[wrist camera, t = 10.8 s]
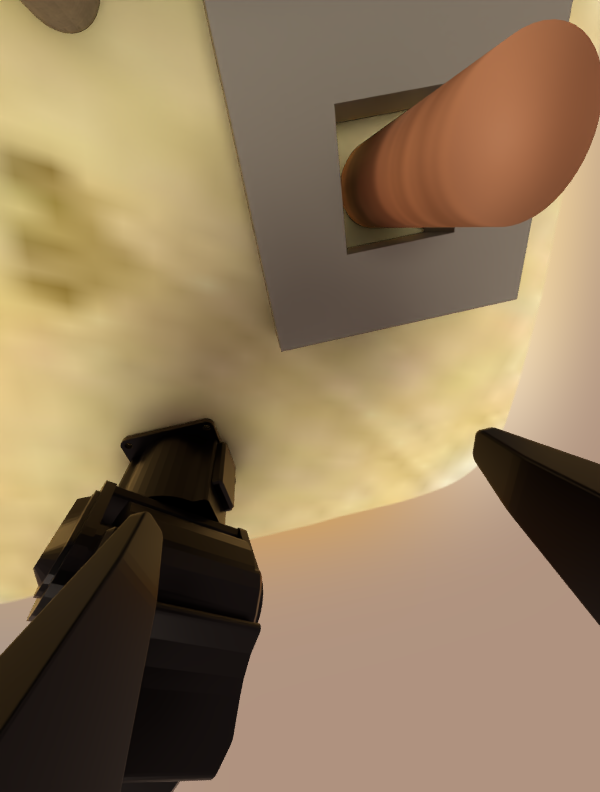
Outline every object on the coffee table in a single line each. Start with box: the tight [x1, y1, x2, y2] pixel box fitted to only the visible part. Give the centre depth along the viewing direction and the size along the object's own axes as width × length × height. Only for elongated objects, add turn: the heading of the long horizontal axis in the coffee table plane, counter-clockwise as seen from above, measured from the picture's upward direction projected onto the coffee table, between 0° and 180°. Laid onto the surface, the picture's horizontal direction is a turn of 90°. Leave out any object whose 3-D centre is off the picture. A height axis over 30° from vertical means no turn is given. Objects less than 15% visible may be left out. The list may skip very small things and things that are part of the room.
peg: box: [341, 19, 600, 228], centre depth 12 cm, size 4×4×10 cm
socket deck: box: [203, 0, 573, 352], centre depth 13 cm, size 14×22×3 cm, turn 10°
